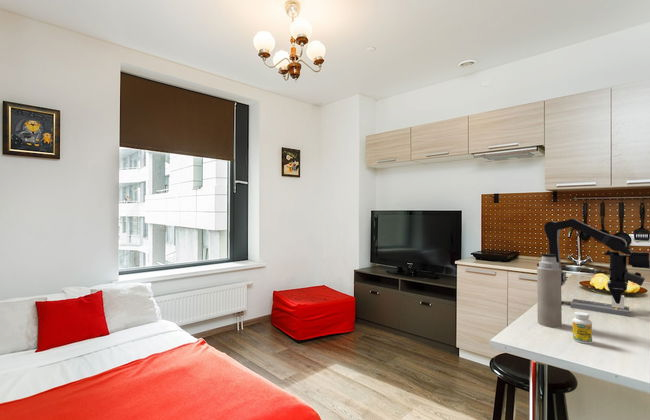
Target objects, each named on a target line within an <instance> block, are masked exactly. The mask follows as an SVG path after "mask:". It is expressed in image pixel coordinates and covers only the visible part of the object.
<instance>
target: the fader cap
mask: <svg viewBox="0 0 650 420" xmlns="http://www.w3.org/2000/svg"><path fill="white" fill-rule="evenodd" d="M611 304H612V307H616V308H622V309H624V306H625V295H623V294H622V295H621V300H620V303H619V304H617V303H616V302H615V300H614V298H613V296H612V295H611Z"/></svg>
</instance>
